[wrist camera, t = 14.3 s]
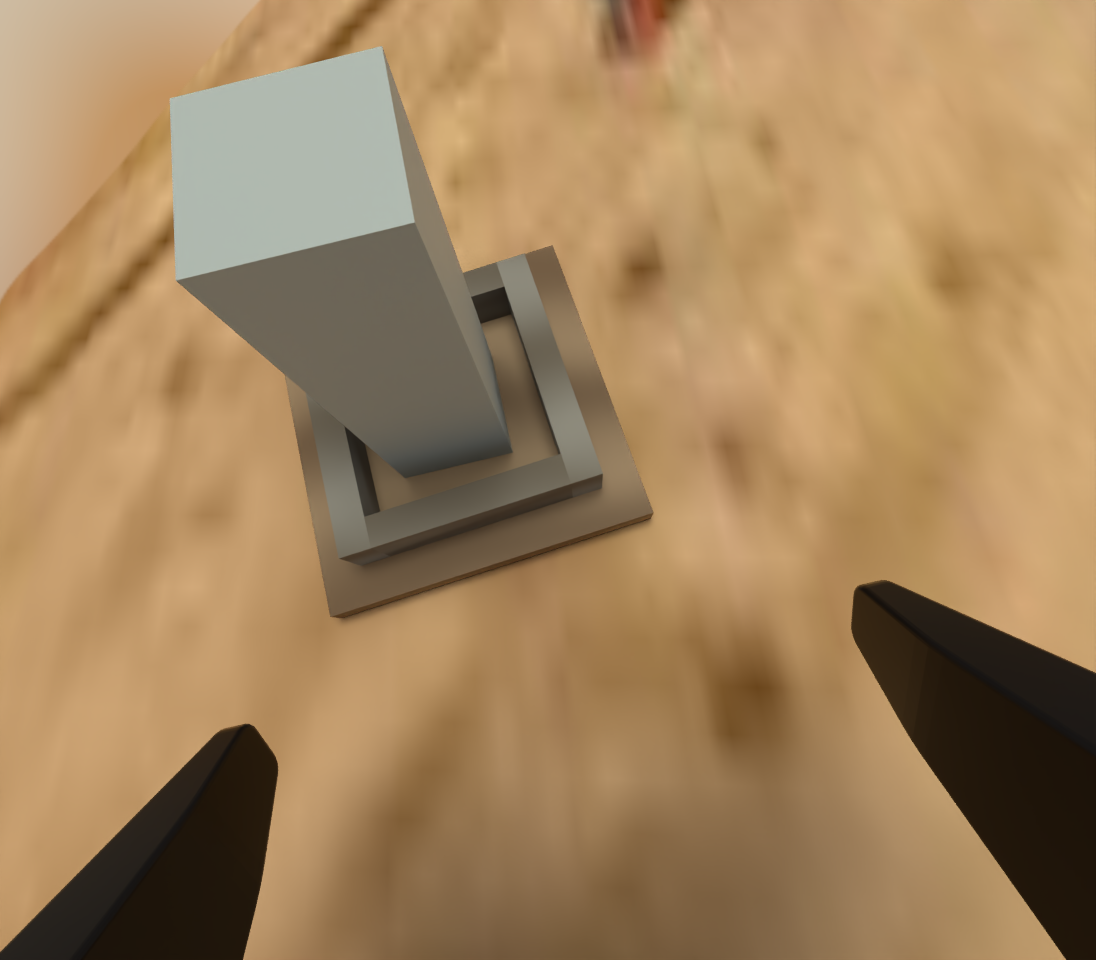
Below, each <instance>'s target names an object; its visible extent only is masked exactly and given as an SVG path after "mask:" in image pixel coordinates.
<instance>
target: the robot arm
mask: <svg viewBox="0 0 1096 960" xmlns="http://www.w3.org/2000/svg"><path fill="white" fill-rule="evenodd" d="M851 629H852V634H853V638H854V640H855V642H856V644H857V646H858V648H859V650H860V651H861V653H862V655H863V657H864V658H865V660H866V662H867V664H868V665H869V667H870V669H871V671H872V673H873V674H874V676H875V678H876V680H877V681H878V683H879V685H880V687H881V688H882V690H883V692H884V694H885V695H886V697H887V699H888V701H889V702H890V704H891V706H892V708H893V709H894V711H895V713H896V715H897V717H898V718H899V720H900V722H901V724H902V725H903V727H904V729H905V730H906V732H907V734H908V735H909V737H910V739H911V740H912V742H913V743H914V745H915V746H916V748H917V749H918V751H919V752H920V754H921V755H922V757H923V758H924V759H925V761H926V762H927V764H928V765H929V767H930V768H931V769H932V771H933V772H934V774H935V775H936V776H937V778H938V779H939V781H940V782H941V783H942V785H943V786H944V788H945V789H946V791H947V792H948V793H949V795H950V796H951V798H952V799H953V800H954V802H955V803H956V805H957V806H958V808H959V809H960V810H961V812H962V813H963V815H964V816H965V817H966V819H967V820H968V822H969V823H970V824H971V826H972V827H973V829H974V830H975V832H976V833H977V834H978V836H979V837H980V839H981V840H982V841H983V843H984V844H985V846H986V847H987V848H988V850H989V851H990V853H991V854H992V856H993V857H994V858H995V860H996V861H997V863H998V864H999V865H1000V867H1001V868H1002V870H1003V871H1004V872H1005V874H1006V875H1007V877H1008V878H1009V880H1010V881H1011V882H1012V884H1013V885H1014V887H1015V888H1016V889H1017V891H1018V892H1019V894H1020V895H1021V896H1022V898H1023V899H1024V901H1025V902H1026V904H1027V905H1028V906H1029V908H1030V909H1031V911H1032V912H1033V913H1034V915H1035V916H1036V918H1037V919H1038V920H1039V922H1040V923H1041V925H1042V926H1043V928H1044V929H1045V930H1046V932H1047V933H1048V935H1049V936H1050V937H1051V939H1052V940H1053V942H1054V943H1055V944H1056V946H1057V947H1058V949H1059V950H1060V952H1061V953H1062V954H1063V956H1064V957H1065V959H1066V960H1096V673H1095V672H1093V671H1090V670H1088V669H1086V668H1084V667H1081V666H1079V665H1077V664H1075V663H1072V662H1070V661H1068V660H1066V659H1063V658H1061V657H1059V656H1057V655H1054V654H1052V653H1050V652H1048V651H1045V650H1043V649H1041V648H1039V647H1036V646H1034V645H1032V644H1030V643H1027V642H1025V641H1023V640H1021V639H1018V638H1016V637H1014V636H1012V635H1010V634H1007V633H1005V632H1003V631H1001V630H998V629H996V628H994V627H992V626H989V625H987V624H985V623H983V622H980V621H978V620H976V619H974V618H971V617H969V616H967V615H965V614H962V613H960V612H958V611H956V610H953V609H951V608H949V607H947V606H944V605H942V604H940V603H938V602H935V601H933V600H931V599H929V598H926V597H924V596H922V595H920V594H917V593H915V592H913V591H911V590H908V589H906V588H904V587H902V586H899V585H897V584H895V583H893V582H890V581H886V580H880V581H875V582H871V583H866V584H862V585H859V586H857V587H856V589H855V591H854V596H853V609H852V622H851ZM277 777H278V763H277V760H276V757H275V755H274V753H273V752H272V750H271V749H270V748H269V746H268V745H267V743H266V742H265V741H264V739H263V738H262V736H261V735H260V733H259V732H258V731H257V729H256V728H255V727H254V726H252V725H250V724H242V725H238V726H234V727H229V728H225V729H223V730H220V731H219V732H218V733H216V734H215V735H214V736H213V737H212V738H211V739H210V740H209V741H208V742H207V743H206V744H205V745H204V746H203V747H202V748H201V749H200V750H199V751H198V752H197V754H196V755H195V756H194V757H193V758H192V759H191V760H190V761H189V762H188V763H187V764H186V765H185V766H184V767H183V768H182V769H181V770H180V771H179V772H178V773H177V774H176V775H175V776H174V777H173V778H172V779H171V780H170V781H169V782H168V783H167V784H166V785H165V786H164V787H163V788H162V789H161V790H160V791H159V792H158V793H157V794H156V795H155V796H154V797H153V798H152V799H151V800H150V801H149V802H148V803H147V804H146V805H145V806H144V807H143V808H142V809H141V810H140V811H139V812H138V813H137V814H136V815H135V816H134V817H133V818H132V819H131V820H130V821H129V822H128V823H127V824H126V825H125V826H124V827H123V828H122V829H121V830H120V831H119V832H118V833H117V834H116V835H115V837H114V838H113V839H112V840H111V841H110V842H109V843H108V844H107V845H106V846H105V847H104V848H103V849H102V850H101V851H100V852H99V853H98V854H97V855H96V856H95V857H94V858H93V859H92V860H91V861H90V862H89V863H88V864H87V865H86V866H85V867H84V868H83V869H82V870H81V871H80V872H79V873H78V874H77V875H76V876H75V877H74V878H73V879H72V880H71V881H70V882H69V883H68V884H67V885H66V886H65V887H64V888H63V889H62V890H61V891H60V892H59V893H58V894H57V895H56V896H55V897H54V898H53V899H52V900H51V901H50V902H49V903H48V904H47V905H46V906H45V907H44V908H43V909H42V910H41V911H40V912H39V913H38V914H37V915H36V916H35V917H34V918H33V919H32V920H31V921H30V922H29V923H28V925H27V926H26V927H25V928H24V929H23V930H22V931H21V932H20V933H19V934H18V935H17V936H16V937H15V938H14V939H13V940H12V941H11V942H10V943H9V944H8V945H7V946H6V947H5V948H4V949H3V950H2V951H1V952H0V960H243V957H244V953H245V949H246V945H247V941H248V937H249V933H250V929H251V925H252V921H253V916H254V912H255V908H256V904H257V900H258V895H259V891H260V886H261V881H262V875H263V870H264V864H265V857H266V851H267V844H268V837H269V831H270V824H271V817H272V811H273V804H274V797H275V790H276V784H277Z"/></svg>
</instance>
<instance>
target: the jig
mask: <svg viewBox="0 0 1096 960" xmlns="http://www.w3.org/2000/svg"><path fill="white" fill-rule="evenodd" d="M463 276H464V279H465V281H466V284H467V287H468V290H469V293H470V295H471V298H472V301H473V304H474V307H475V310H476V312H477V315H478V318H479V321H480V324H481V326H482V329H483V332H484V335H485V338H486V340H487V343H488V346H489V349H490V352H491V355H492V358H493V363H494V368H495V372H496V377H497V381H498V386H499V391H500V395H501V400H502V404H503V409H504V414H505V418H506V423H507V428H508V432H509V437H510V441H511V446H512V451H513V453H509V454H505V455H501V456H496V457H492V458H488V459H484V460H480V461H475V462H471V463H467V464H463V465H458V466H454V467H450V468H446V469H442V470H437V471H433V472H429V473H425V474H421V475H416V476H412V477H408V478H404V477H403V476H402V475H401V474H400V473H399V472H397V471H396V470H395V469H394V468H393V467H392V466H390V465H389V464H388V463H387V462H386V461H385V460H383V459H382V458H381V457H380V456H379V455H378V454H377V453H375V452H374V451H373V450H372V449H371V448H370V447H368V446H367V445H366V444H365V443H364V442H363V441H361V440H360V439H359V438H358V437H357V436H356V435H354V434H353V433H352V432H351V431H350V430H349V429H348V428H346V427H345V426H344V425H343V424H342V423H341V422H339V421H338V420H337V419H336V418H335V417H334V416H332V415H331V414H330V413H329V412H328V411H327V410H325V409H324V408H323V407H322V406H321V405H320V404H319V403H317V402H316V401H315V400H314V399H313V398H312V397H310V396H309V395H308V394H307V393H306V392H305V391H303V390H302V389H301V388H300V387H299V386H298V385H296V384H295V383H294V382H293V381H292V380H291V379H290V378H288V377H287V376H286V375H285V379H286V384H287V390H288V395H289V400H290V406H291V411H292V416H293V421H294V427H295V432H296V437H297V443H298V448H299V453H300V459H301V464H302V469H303V474H304V480H305V485H306V490H307V496H308V501H309V506H310V511H311V517H312V522H313V527H314V533H315V538H316V543H317V548H318V554H319V559H320V564H321V570H322V575H323V580H324V586H325V591H326V596H327V601H328V607H329V612H330V617H337V618H343V617H346V616H349V615H352V614H355V613H359V612H362V611H365V610H368V609H371V608H374V607H377V606H380V605H383V604H386V603H390V602H393V601H396V600H399V599H402V598H405V597H408V596H411V595H414V594H417V593H420V592H424V591H427V590H430V589H433V588H436V587H439V586H442V585H445V584H448V583H451V582H455V581H458V580H461V579H464V578H467V577H470V576H473V575H476V574H479V573H482V572H485V571H489V570H492V569H495V568H498V567H501V566H504V565H507V564H510V563H513V562H516V561H519V560H523V559H526V558H529V557H532V556H535V555H538V554H541V553H544V552H547V551H550V550H554V549H557V548H560V547H563V546H566V545H569V544H572V543H575V542H578V541H581V540H584V539H588V538H591V537H594V536H597V535H600V534H603V533H606V532H609V531H612V530H615V529H619V528H622V527H625V526H628V525H631V524H634V523H637V522H640V521H643V520H646V519H649V518H651V517H652V515H653V510H652V508H651V505H650V502H649V500H648V497H647V494H646V492H645V489H644V486H643V484H642V481H641V478H640V476H639V473H638V471H637V468H636V465H635V463H634V460H633V457H632V455H631V452H630V449H629V447H628V444H627V441H626V439H625V436H624V433H623V431H622V428H621V425H620V423H619V420H618V418H617V415H616V412H615V410H614V407H613V404H612V402H611V399H610V396H609V394H608V391H607V388H606V386H605V383H604V380H603V378H602V375H601V372H600V370H599V367H598V365H597V362H596V359H595V357H594V354H593V351H592V349H591V346H590V343H589V341H588V338H587V335H586V333H585V330H584V327H583V325H582V322H581V320H580V317H579V314H578V312H577V309H576V306H575V304H574V301H573V298H572V296H571V293H570V290H569V288H568V285H567V282H566V280H565V277H564V274H563V272H562V269H561V267H560V264H559V261H558V259H557V256H556V253H555V251H554V248H553V245H552V246H549V247H545V248H542V249H539V250H536V251H533V252H530V253H527V254H521V255H518V256H515V257H512V258H509V259H506V260H502V261H499V262H496V263H493V264H490V265H487V266H483V267H480V268H477V269H474V270H471V271H468V272H465V273H463Z"/></svg>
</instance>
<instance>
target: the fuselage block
mask: <svg viewBox="0 0 1096 960" xmlns="http://www.w3.org/2000/svg"><path fill="white" fill-rule="evenodd" d="M170 117H171V148H172V178H173V209H174V239H175V270H176V281H177V282H178V283H179V284H180V285H182V286H183V287H184V288H185V289H186V290H187V291H189V292H190V293H191V294H192V295H193V296H194V297H196V298H197V299H198V300H199V301H200V302H201V303H203V304H204V305H205V306H206V307H207V308H208V309H209V310H211V311H212V312H213V313H214V314H215V315H216V316H218V317H219V318H220V319H221V320H222V321H223V322H225V323H226V324H227V325H228V326H229V327H230V328H232V329H233V330H234V331H235V332H236V333H237V334H238V335H240V336H241V337H242V338H243V339H244V340H245V341H247V342H248V343H249V344H250V345H251V346H252V347H254V348H255V349H256V350H257V351H258V352H259V353H261V354H262V355H263V356H264V357H265V358H266V359H267V360H269V361H270V362H271V363H272V364H273V365H274V366H276V367H277V368H278V369H279V370H280V371H281V372H283V373H284V374H285V375H286V376H287V377H288V378H290V379H291V380H292V381H293V382H294V383H295V384H296V385H298V386H299V387H300V388H301V389H302V390H303V391H305V392H306V393H307V394H308V395H309V396H310V397H312V398H313V399H314V400H315V401H316V402H317V403H319V404H320V405H321V406H322V407H323V408H324V409H325V410H327V411H328V412H329V413H330V414H331V415H332V416H334V417H335V418H336V419H337V420H338V421H339V422H341V423H342V424H343V425H344V426H345V427H346V428H348V429H349V430H350V431H351V432H352V433H353V434H354V435H356V436H357V437H358V438H359V439H360V440H361V441H363V442H364V443H365V444H366V445H367V446H368V447H370V448H371V449H372V450H373V451H374V452H375V453H377V454H378V455H379V456H380V457H381V458H382V459H383V460H385V461H386V462H387V463H388V464H389V465H390V466H392V467H393V468H394V469H395V470H396V471H397V472H399V473H400V474H401V475H402V476H403V477H404V478H408V477H412V476H416V475H421V474H425V473H429V472H433V471H437V470H442V469H446V468H450V467H454V466H458V465H463V464H467V463H471V462H475V461H480V460H484V459H488V458H492V457H496V456H501V455H505V454H509V453H513V451H512V446H511V441H510V437H509V432H508V428H507V423H506V418H505V414H504V409H503V404H502V400H501V395H500V391H499V386H498V381H497V377H496V372H495V368H494V363H493V358H492V355H491V352H490V349H489V346H488V343H487V340H486V338H485V335H484V332H483V329H482V326H481V324H480V321H479V318H478V315H477V312H476V310H475V307H474V304H473V301H472V298H471V295H470V293H469V290H468V287H467V284H466V281H465V279H464V276H463V273H462V270H461V267H460V264H459V262H458V259H457V256H456V253H455V250H454V248H453V245H452V242H451V239H450V236H449V233H448V231H447V228H446V225H445V222H444V219H443V217H442V214H441V211H440V208H439V205H438V202H437V200H436V197H435V194H434V191H433V188H432V186H431V183H430V180H429V177H428V174H427V172H426V169H425V166H424V163H423V160H422V157H421V155H420V152H419V149H418V146H417V143H416V141H415V138H414V135H413V132H412V129H411V126H410V124H409V121H408V118H407V115H406V112H405V110H404V107H403V104H402V101H401V98H400V95H399V93H398V90H397V87H396V84H395V81H394V79H393V76H392V73H391V70H390V67H389V64H388V62H387V59H386V56H385V53H384V50H383V48H382V46H380V47H376V48H372V49H368V50H364V51H360V52H356V53H352V54H348V55H344V56H340V57H336V58H332V59H328V60H324V61H320V62H316V63H312V64H308V65H304V66H300V67H295V68H291V69H287V70H283V71H279V72H275V73H271V74H267V75H263V76H259V77H255V78H251V79H247V80H243V81H239V82H235V83H231V84H227V85H223V86H219V87H215V88H211V89H207V90H202V91H198V92H194V93H190V94H186V95H182V96H178V97H174V98H170Z"/></svg>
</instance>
